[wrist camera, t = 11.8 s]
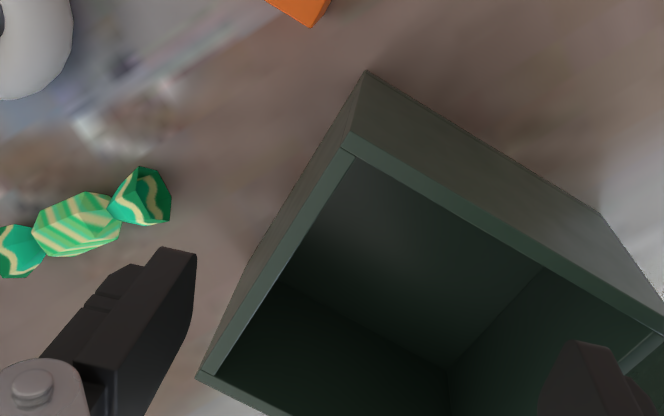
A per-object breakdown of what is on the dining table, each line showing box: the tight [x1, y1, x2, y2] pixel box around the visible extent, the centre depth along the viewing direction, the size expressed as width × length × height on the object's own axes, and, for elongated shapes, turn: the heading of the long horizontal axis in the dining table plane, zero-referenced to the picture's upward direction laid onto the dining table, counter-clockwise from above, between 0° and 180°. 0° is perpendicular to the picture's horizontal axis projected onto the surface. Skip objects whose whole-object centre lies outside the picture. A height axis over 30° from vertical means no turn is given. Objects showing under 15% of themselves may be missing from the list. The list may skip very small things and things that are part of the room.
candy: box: [0, 166, 172, 278], centre depth 36 cm, size 12×3×4 cm
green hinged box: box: [195, 70, 664, 416], centre depth 31 cm, size 17×16×11 cm
